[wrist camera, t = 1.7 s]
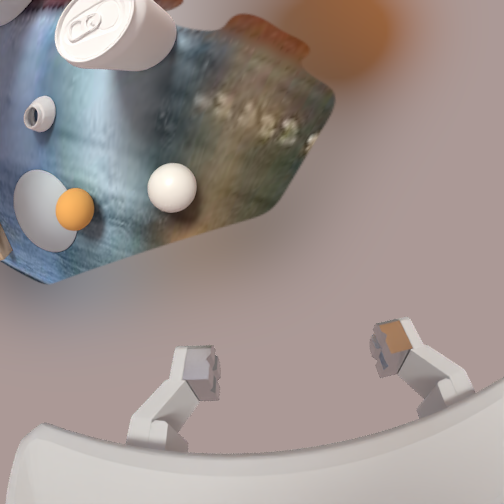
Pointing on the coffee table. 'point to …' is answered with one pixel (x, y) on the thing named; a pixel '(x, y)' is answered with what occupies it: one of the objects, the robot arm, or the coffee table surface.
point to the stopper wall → (4, 245)
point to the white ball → (172, 187)
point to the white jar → (40, 114)
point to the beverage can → (114, 34)
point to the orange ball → (74, 209)
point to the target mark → (41, 210)
